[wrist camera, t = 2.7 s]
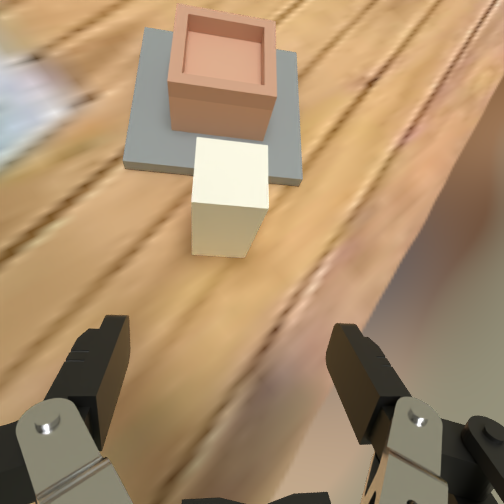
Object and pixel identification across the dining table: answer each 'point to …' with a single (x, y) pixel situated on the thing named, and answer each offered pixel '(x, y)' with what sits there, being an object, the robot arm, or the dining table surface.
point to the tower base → (214, 93)
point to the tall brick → (228, 196)
